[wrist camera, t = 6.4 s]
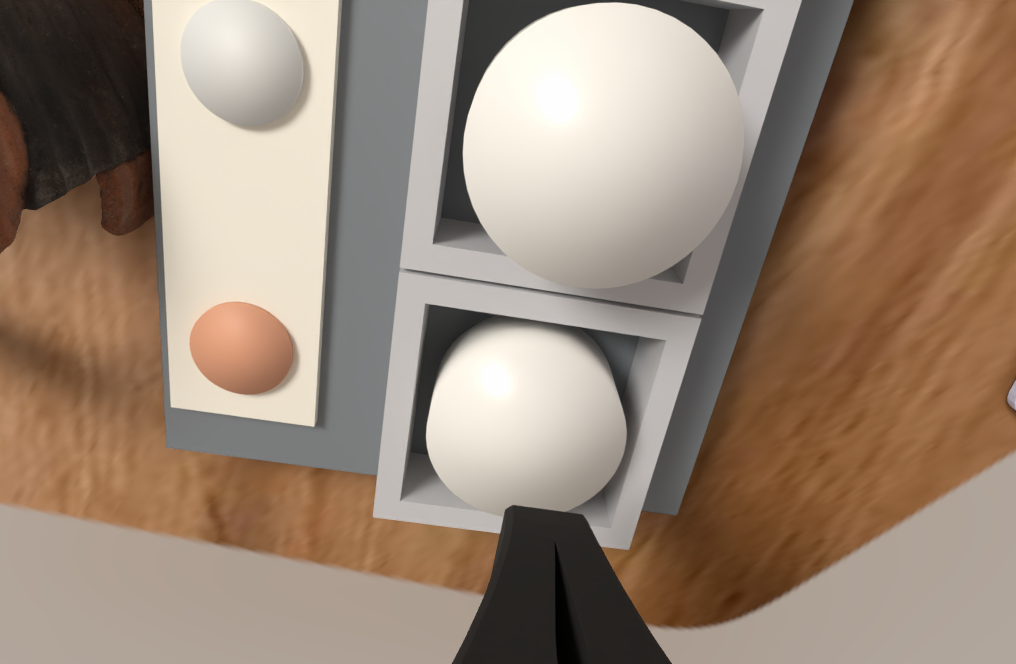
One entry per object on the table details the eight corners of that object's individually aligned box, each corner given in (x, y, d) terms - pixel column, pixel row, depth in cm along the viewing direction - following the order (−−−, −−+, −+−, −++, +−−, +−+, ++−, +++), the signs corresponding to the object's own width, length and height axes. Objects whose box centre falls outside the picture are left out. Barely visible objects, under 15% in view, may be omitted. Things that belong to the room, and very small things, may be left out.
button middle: (740, 29, 12) (784, 32, 10) (672, 267, 14) (698, 306, 12) (488, -18, 11) (486, -24, 10) (454, 232, 13) (446, 267, 11)
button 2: (632, 326, 16) (648, 366, 14) (591, 477, 18) (601, 529, 16) (446, 298, 16) (439, 334, 14) (424, 454, 18) (415, 505, 16)
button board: (942, -401, 13) (1119, -570, 9) (661, 472, 21) (695, 567, 17) (170, -589, 12) (16, -866, 8) (197, 408, 20) (129, 495, 16)
